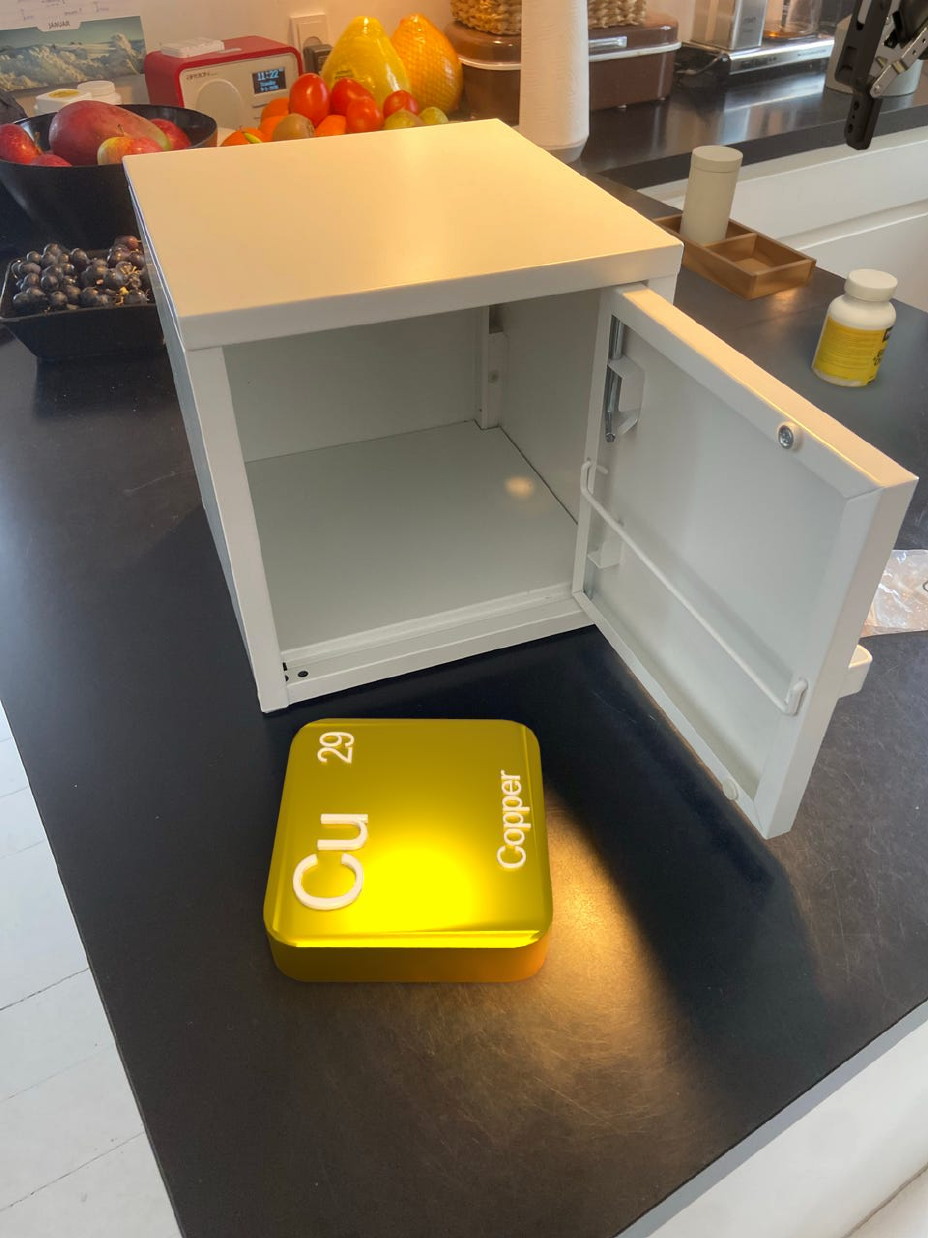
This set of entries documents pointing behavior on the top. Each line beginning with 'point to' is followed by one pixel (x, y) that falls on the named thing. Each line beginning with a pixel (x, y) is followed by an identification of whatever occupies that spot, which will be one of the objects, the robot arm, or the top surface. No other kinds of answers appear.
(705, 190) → the beige lidded canister
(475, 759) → the element tile
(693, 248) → the tray
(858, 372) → the pill bottle
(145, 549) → the top surface
